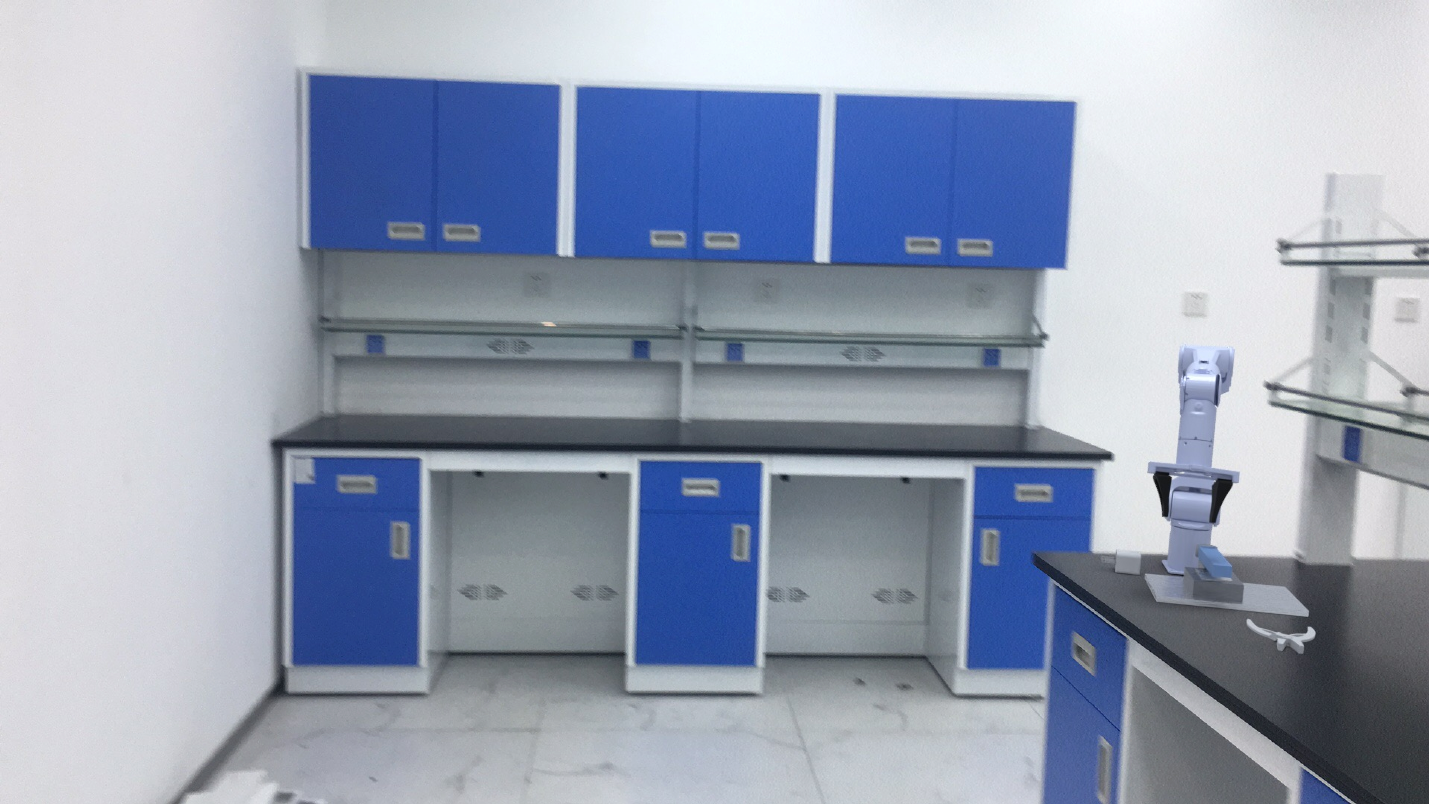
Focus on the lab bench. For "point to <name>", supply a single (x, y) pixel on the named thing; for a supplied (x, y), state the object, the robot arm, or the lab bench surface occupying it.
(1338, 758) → the lab bench surface
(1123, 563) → the usb wall charger
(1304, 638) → the pliers
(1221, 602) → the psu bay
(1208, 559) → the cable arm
